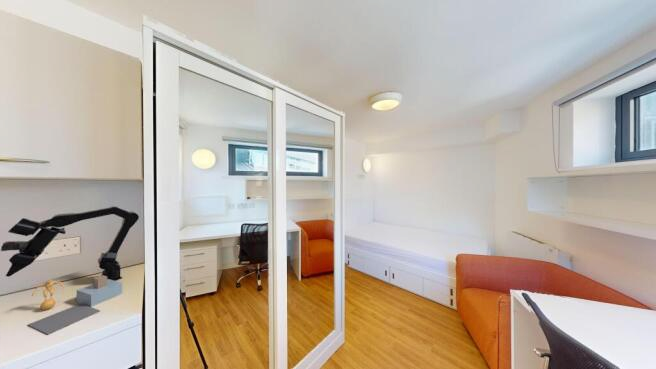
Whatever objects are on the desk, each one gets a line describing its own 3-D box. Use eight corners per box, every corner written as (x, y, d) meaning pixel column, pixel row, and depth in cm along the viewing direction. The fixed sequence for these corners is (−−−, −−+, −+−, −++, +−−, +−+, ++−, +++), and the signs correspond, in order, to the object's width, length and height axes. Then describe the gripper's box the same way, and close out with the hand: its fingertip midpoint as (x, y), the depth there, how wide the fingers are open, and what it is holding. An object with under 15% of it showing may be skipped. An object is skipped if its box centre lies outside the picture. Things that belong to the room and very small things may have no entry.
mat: (80, 304, 91) (80, 303, 91) (100, 311, 87) (100, 310, 87) (27, 325, 77) (27, 324, 77) (47, 334, 73) (47, 333, 73)
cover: (108, 289, 103) (108, 270, 103) (122, 293, 100) (122, 274, 100) (76, 301, 92) (76, 280, 92) (91, 306, 89) (91, 285, 89)
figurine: (30, 315, 82) (30, 287, 82) (32, 309, 86) (33, 282, 86) (63, 306, 89) (63, 280, 88) (64, 300, 92) (64, 275, 92)
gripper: (22, 230, 95) (-11, 262, 89) (8, 237, 82) (-31, 275, 76) (55, 237, 102) (28, 268, 96) (47, 245, 89) (15, 281, 83)
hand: (11, 272), depth 88 cm, fingers open, 9 cm apart
